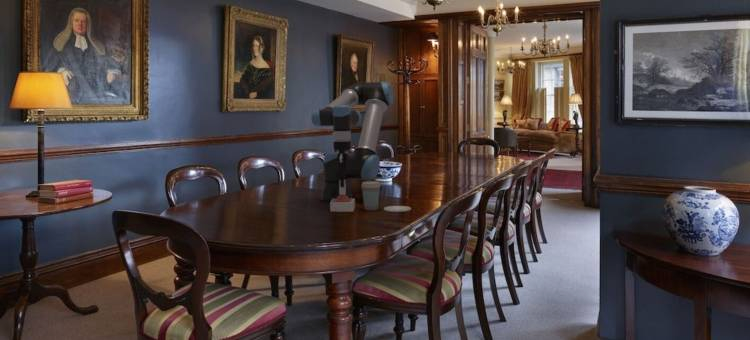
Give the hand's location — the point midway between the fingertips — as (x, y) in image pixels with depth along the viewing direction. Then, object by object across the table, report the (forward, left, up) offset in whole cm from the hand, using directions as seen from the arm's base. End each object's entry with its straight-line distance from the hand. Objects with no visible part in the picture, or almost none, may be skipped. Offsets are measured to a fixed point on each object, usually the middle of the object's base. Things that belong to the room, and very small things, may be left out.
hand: (342, 194), depth 250 cm
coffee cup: (+8, +10, -7) cm, 14 cm away
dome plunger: (0, 0, -5) cm, 5 cm away
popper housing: (0, 0, -7) cm, 7 cm away
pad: (+16, +18, -7) cm, 25 cm away
